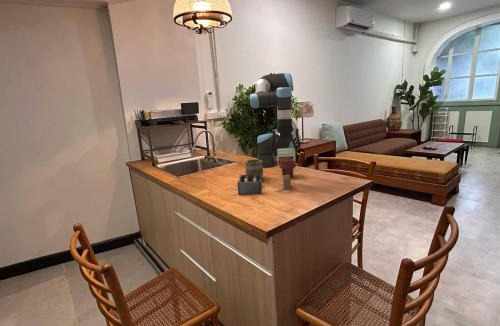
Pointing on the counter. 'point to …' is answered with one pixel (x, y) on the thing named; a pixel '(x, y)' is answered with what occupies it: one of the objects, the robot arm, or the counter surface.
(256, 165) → the mug
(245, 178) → the frame
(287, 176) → the block
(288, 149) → the board
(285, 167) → the mechanical component
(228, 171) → the counter surface
